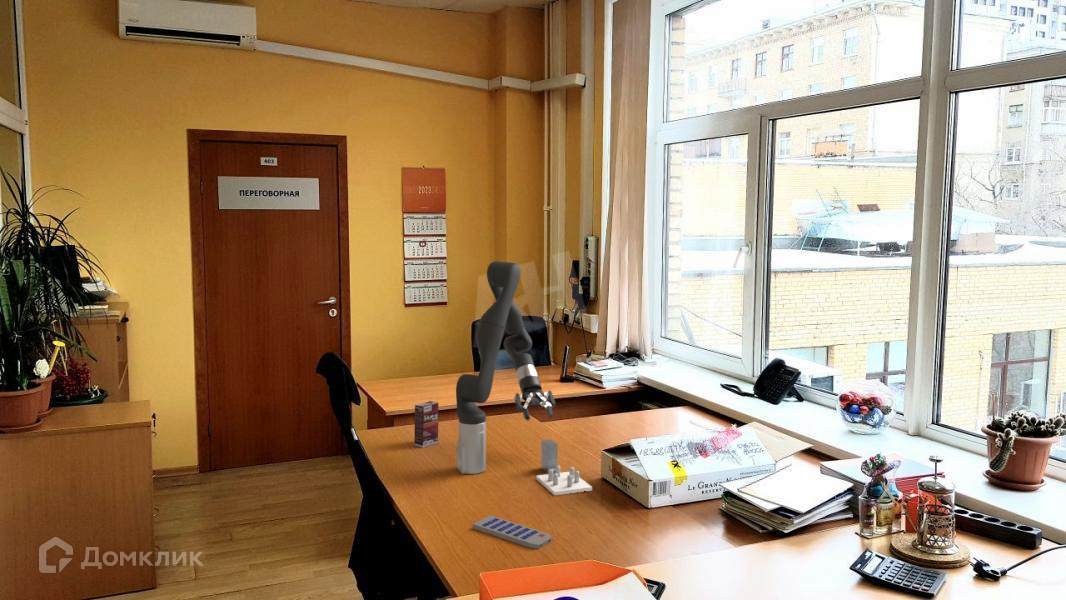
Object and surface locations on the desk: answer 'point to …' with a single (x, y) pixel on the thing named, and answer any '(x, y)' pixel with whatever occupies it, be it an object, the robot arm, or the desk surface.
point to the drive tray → (563, 482)
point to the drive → (549, 455)
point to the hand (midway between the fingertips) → (539, 418)
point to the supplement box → (426, 424)
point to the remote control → (513, 532)
